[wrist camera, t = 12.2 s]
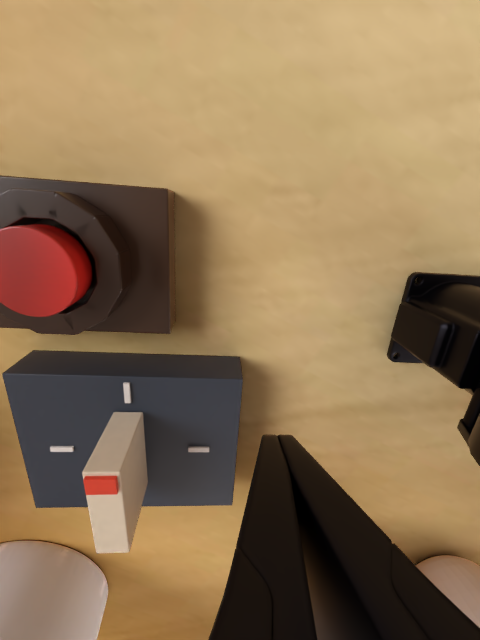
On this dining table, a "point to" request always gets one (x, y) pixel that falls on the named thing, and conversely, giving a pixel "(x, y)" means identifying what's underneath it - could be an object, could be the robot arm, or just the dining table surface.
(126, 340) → the dining table surface
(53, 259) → the button
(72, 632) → the utensil holder
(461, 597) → the vase
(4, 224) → the button block
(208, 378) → the control panel
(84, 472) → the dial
